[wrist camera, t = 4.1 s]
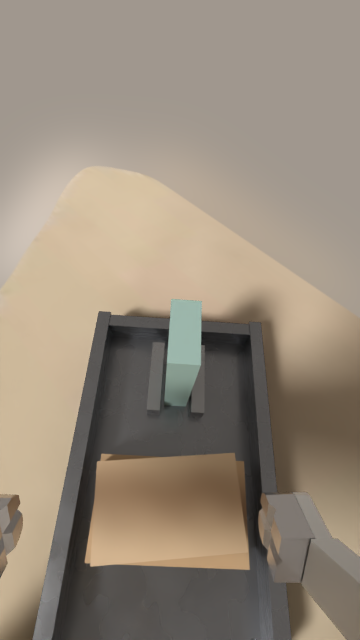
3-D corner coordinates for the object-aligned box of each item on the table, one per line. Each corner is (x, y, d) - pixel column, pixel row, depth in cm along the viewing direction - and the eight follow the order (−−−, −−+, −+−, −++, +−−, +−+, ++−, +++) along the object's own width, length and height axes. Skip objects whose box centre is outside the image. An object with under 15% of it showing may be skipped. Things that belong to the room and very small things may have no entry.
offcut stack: (241, 562, 20) (259, 579, 16) (91, 555, 20) (76, 572, 16) (237, 457, 23) (251, 453, 19) (106, 450, 23) (97, 445, 19)
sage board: (185, 406, 25) (200, 365, 16) (164, 405, 24) (166, 363, 16) (187, 360, 26) (201, 301, 18) (167, 359, 26) (171, 299, 18)
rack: (275, 663, 18) (297, 698, 15) (44, 656, 18) (22, 690, 15) (250, 338, 29) (260, 322, 26) (105, 328, 28) (98, 311, 25)
